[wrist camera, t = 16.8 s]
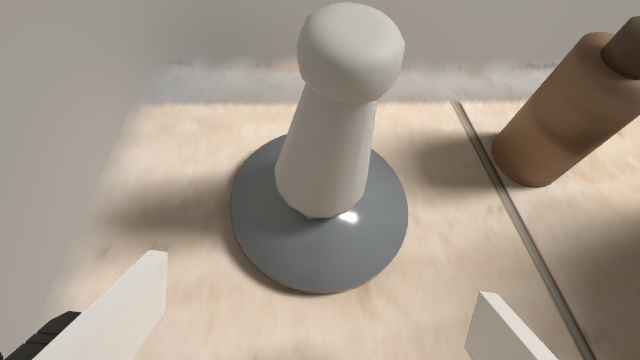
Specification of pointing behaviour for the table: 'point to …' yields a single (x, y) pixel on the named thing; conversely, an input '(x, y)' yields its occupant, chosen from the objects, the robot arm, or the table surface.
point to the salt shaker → (337, 107)
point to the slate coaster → (317, 228)
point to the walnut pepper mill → (574, 108)
